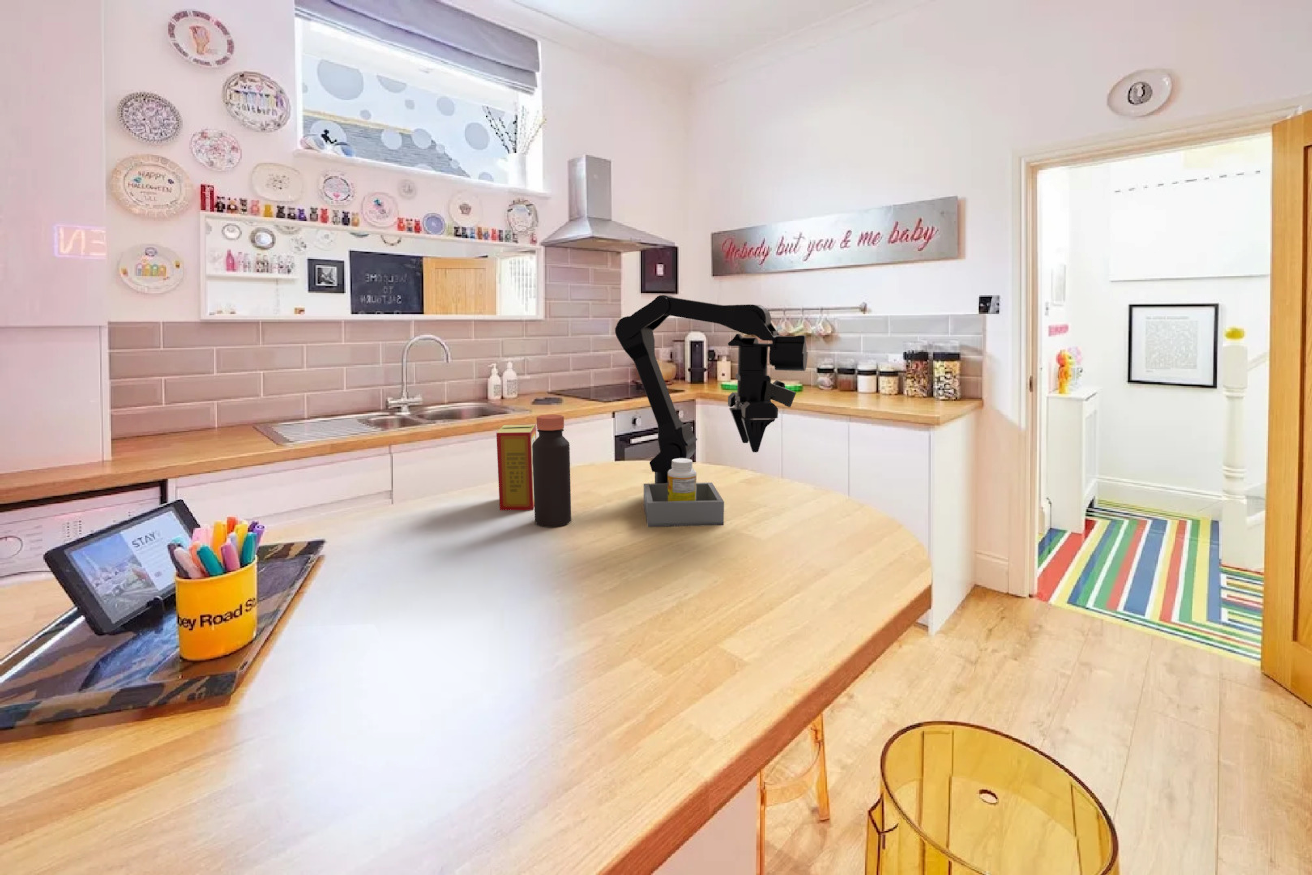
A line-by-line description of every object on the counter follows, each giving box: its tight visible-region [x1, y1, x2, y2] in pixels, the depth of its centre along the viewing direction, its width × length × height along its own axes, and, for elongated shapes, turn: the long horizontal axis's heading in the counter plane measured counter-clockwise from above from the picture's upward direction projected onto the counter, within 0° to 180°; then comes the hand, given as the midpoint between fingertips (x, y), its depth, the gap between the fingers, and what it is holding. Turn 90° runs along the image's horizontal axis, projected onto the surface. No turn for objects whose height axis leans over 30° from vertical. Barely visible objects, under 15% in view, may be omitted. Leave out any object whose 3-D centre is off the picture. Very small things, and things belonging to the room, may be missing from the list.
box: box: [643, 482, 725, 528], centre depth 126 cm, size 14×14×4 cm
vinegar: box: [532, 414, 572, 528], centre depth 120 cm, size 7×7×20 cm
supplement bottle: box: [668, 458, 697, 501], centre depth 126 cm, size 6×6×10 cm
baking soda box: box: [495, 423, 537, 511], centre depth 133 cm, size 10×6×16 cm
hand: (750, 447), depth 131 cm, fingers open, 9 cm apart
